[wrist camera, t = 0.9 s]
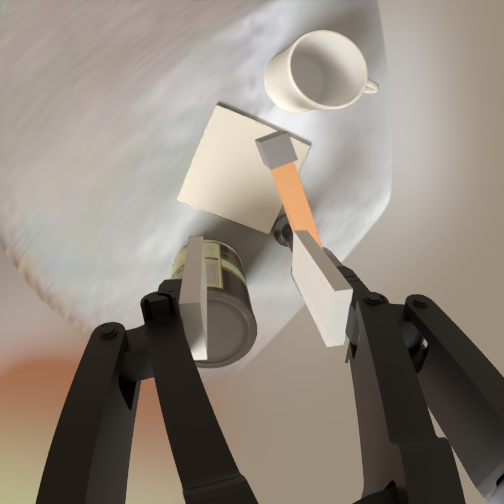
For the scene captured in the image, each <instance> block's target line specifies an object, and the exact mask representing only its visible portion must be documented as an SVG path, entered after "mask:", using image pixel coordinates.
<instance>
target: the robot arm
mask: <svg viewBox="0 0 504 504" xmlns="http://www.w3.org/2000/svg"><path fill="white" fill-rule="evenodd" d="M292 276H293V278H294V280H295V282H296V284H297V286H298V288H299V290H300V292H301V294H302V296H303V298H304V300H305V303H306V305H307V307H308V308H309V311H310V313H311V315H312V317H313V319H314V321H315V323H316V325H317V327H318V329H319V331H320V334H321V336H322V338H323V340H324V342H325V344H326V346H327V347H331V346H336V345H343V344H344V340H345V335H347V336H348V338H349V340H350V341H349V346H348V351H347V355H346V361H345V363H348V359H350V366H351V372H352V379H353V385H354V393H355V401H356V408H357V416H358V425H359V434H360V443H361V453H362V464H363V476H364V489H363V493H362V498H361V499H360V500H358V501H357V502H355V503H353V504H466V503H465V499H464V495H463V490H462V486H461V482H460V478H459V473H458V470H457V466H456V463H455V459H454V455H453V452H452V448H451V446H452V447H453V449H454V451H455V453H456V454H457V456H458V458H459V459H460V461H461V463H462V465H463V467H464V468H465V470H466V472H467V474H468V476H469V477H470V479H471V481H472V482H473V484H474V485H475V487H476V488H477V489H478V491H479V492H480V493H481V494H482V496H483V497H484V498H485V499H486V500H487V501H488V502H489V504H504V377H503V376H502V375H501V374H500V373H499V371H498V370H497V369H496V368H495V367H494V366H493V365H492V363H491V362H490V361H489V360H488V359H487V358H486V357H485V356H484V354H483V353H482V352H481V351H480V350H479V349H478V348H477V347H476V346H475V344H474V343H473V342H472V341H471V340H470V339H469V338H468V337H467V336H466V335H465V334H464V333H463V332H462V330H460V329H459V327H458V326H457V325H456V324H455V323H454V322H453V321H452V320H451V319H450V318H449V317H448V316H447V315H446V314H445V313H444V312H443V311H442V310H441V309H440V308H439V307H438V306H437V305H436V304H435V303H434V302H433V301H432V300H431V299H430V298H428V297H426V296H424V295H419V294H415V295H410V296H408V297H407V298H406V301H405V305H401V304H390V303H389V301H388V299H387V298H386V297H385V296H383V295H382V294H379V293H376V292H370V291H369V290H368V288H367V287H366V286H365V285H364V284H363V283H362V281H360V279H359V278H358V277H357V275H356V274H355V273H354V272H353V270H351V269H349V268H347V267H346V266H337V267H336V266H335V265H334V264H333V262H332V261H331V260H330V259H329V257H328V256H327V255H326V253H325V252H324V251H323V250H322V248H321V247H320V246H319V245H318V243H317V242H316V241H315V240H314V238H313V237H312V236H311V235H310V233H309V232H308V231H307V230H296V231H293V259H292ZM140 305H141V309H142V313H143V318H144V322H145V324H144V325H142V326H140V327H138V328H134V329H130V330H125V328H124V326H123V325H122V324H120V323H116V322H109V323H104V324H102V325H100V326H98V327H97V328H95V330H94V331H93V332H92V334H91V337H90V339H89V342H88V344H87V346H86V349H85V351H84V354H83V356H82V358H81V361H80V363H79V366H78V369H77V371H76V374H75V376H74V379H73V382H72V384H71V387H70V390H69V392H68V395H67V398H66V401H65V404H64V407H63V409H62V413H61V415H60V418H59V421H58V424H57V427H56V431H55V434H54V437H53V440H52V443H51V447H50V450H49V453H48V457H47V460H46V464H45V467H44V471H43V475H42V479H41V483H40V487H39V491H38V495H37V500H36V504H125V500H126V489H127V478H128V469H129V460H130V452H131V444H132V437H133V430H134V423H135V416H136V409H137V402H138V397H139V391H140V385H141V380H144V379H148V378H152V377H154V378H155V383H156V388H157V392H158V397H159V402H160V406H161V410H162V414H163V418H164V423H165V427H166V431H167V435H168V439H169V442H170V446H171V450H172V453H173V457H174V460H175V464H176V467H177V471H178V474H179V477H180V481H181V484H182V488H183V495H184V499H185V502H186V504H258V502H257V500H256V498H255V496H254V494H253V492H252V490H251V488H250V486H249V484H248V482H247V480H246V479H245V477H244V476H243V475H241V473H240V472H239V470H238V468H237V466H236V463H235V461H234V459H233V457H232V454H231V452H230V450H229V448H228V445H227V443H226V441H225V438H224V436H223V434H222V431H221V429H220V426H219V424H218V421H217V419H216V416H215V414H214V412H213V409H212V406H211V404H210V402H209V399H208V396H207V394H206V391H205V388H204V386H203V383H202V380H201V378H200V375H199V372H198V370H197V367H196V364H195V361H194V360H207V276H206V265H205V253H204V241H203V236H196V237H189V240H188V246H187V252H186V259H185V265H184V271H183V278H182V279H168V280H164V281H163V282H162V283H161V284H160V285H159V288H158V291H157V292H153V293H150V294H148V295H146V296H144V297H143V298H142V299H141V303H140ZM424 339H426V341H427V343H428V345H427V347H425V346H424V345H423V341H424ZM427 406H428V407H427ZM428 408H429V409H430V411H431V413H432V414H433V416H434V418H435V419H436V421H437V422H438V424H439V426H440V427H441V429H442V431H443V432H444V434H445V436H446V437H447V439H448V440H447V439H446V438H445V437H443V438H438V437H437V436H436V434H435V431H434V427H433V424H432V420H431V417H430V414H429V411H428ZM449 442H450V443H449ZM450 444H451V445H450Z"/></svg>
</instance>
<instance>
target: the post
mask: <svg viewBox="0 0 504 504" xmlns="http://www.w3.org/2000/svg"><path fill="white" fill-rule="evenodd" d="M273 234H274V237H275V239H276V240H277V242H278V243H279V244H281V245H283V246H286V247H289V248H290V250H291V252H292V253H293V232H292V229H291V226H290V223H289V220H288V218H287V215H284V216H282V217H280V218H279V219H278V220H277V221H276V222H275V224H274V227H273Z"/></svg>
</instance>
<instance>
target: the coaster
mask: <svg viewBox="0 0 504 504" xmlns="http://www.w3.org/2000/svg"><path fill="white" fill-rule="evenodd" d="M274 132H277V130H275V129H273V128H270V127H268V126H266V125H264V124H261V123H259V122H257V121H254V120H252V119H250V118H247V117H245V116H243V115H240V114H238V113H235V112H233V111H231V110H228V109H226V108H223V107H221V106H218V105H216V107H215V109H214V111H213V113H212V115H211V118H210V120H209V122H208V125H207V127H206V129H205V132H204V134H203V136H202V139H201V141H200V143H199V146H198V148H197V150H196V153H195V155H194V158H193V160H192V163H191V165H190V168H189V170H188V173H187V175H186V178H185V180H184V183H183V186H182V188H181V191H180V193H179V196H178V199H177V200H178V201H181V202H184V203H186V204H189V205H192V206H195V207H197V208H200V209H203V210H205V211H208V212H211V213H213V214H216V215H219V216H221V217H224V218H227V219H229V220H232V221H235V222H237V223H240V224H243V225H245V226H248V227H250V228H253V229H256V230H258V231H261V232H264V233H266V234H269V233H270V231H271V229H272V227H273V225H274V222H275V220H276V218H277V216H278V214H279V212H280V210H281V208H282V206H283V204H282V201H281V198H280V196H279V193H278V190H277V188H276V185H275V182H274V180H273V177H272V174H271V172H270V169H269V168H268V167H267V166H265V165H264V163H263V161H262V158H261V156H260V153H259V150H258V148H257V145H256V143H255V139H258V138H260V137H263V136H266V135H269V134H271V133H274ZM290 139H291V142H292V144H293V147H294V150H295V153H296V155H297V158H298V160H296V161H294V163H295V166H296V168H297V171H298V172H299V170H300V168H301V166H302V164H303V161H304V159H305V157H306V155H307V153H308V151H309V149H310V147H311V146H309V145H307V144H305V143H302V142H300V141H298V140H296V139H294V138H292V137H290Z"/></svg>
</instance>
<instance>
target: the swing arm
mask: <svg viewBox="0 0 504 504" xmlns="http://www.w3.org/2000/svg"><path fill="white" fill-rule="evenodd" d="M255 143H256V145H257V148H258V150H259V153H260V156H261V158H262V161H263V163H264V165H265V166H267V167H268V168H269V169H270V172H271V174H272V177H273V180H274V182H275V185H276V188H277V190H278V193H279V196H280V198H281V201H282V204H283V207H284V209H285V212H286V215H287V218H288V220H289V223H290V226H291V229H292V232H293V231H296V230H307V231H308V232H309V233H310V235H311V236H312V237H313V238H314V240H315V241H316V242H317V243H318V245H319V246H320V247H321V248H322V250H323V251H324V252H325V253H326V255H327V256H328V257H329V259H330V260H331V261H332V262H333V264H334V265H335V266H336V267H337V266H343V265H342V264H341V263H340V261H339V260H338V259H337V258H336V257H335V255H334V254H333V253H332V252H331V251H330V250H328V249H327V248H324V247H322V245H321V241H320V238H319V235H318V232H317V228H316V225H315V222H314V219H313V216H312V213H311V210H310V207H309V204H308V201H307V198H306V195H305V192H304V189H303V186H302V183H301V180H300V177H299V174H298V171H297V168H296V166H295V163H294V161H296V160H298V158H297V155H296V153H295V150H294V147H293V144H292V142H291V139H290V136H289V133H288V132H283V131H277V132H274V133H271V134H269V135H266V136H263V137H260V138H258V139H255ZM291 275H292V268H291ZM292 278H293V276H292ZM293 280H294V278H293ZM294 282H295V280H294ZM295 284H296V282H295ZM296 287H297V289H298V291H299V293H300V295H301V296H302V294H301V292H300V290H299V288H298V286H297V284H296ZM302 298H303V296H302ZM303 299H304V298H303Z"/></svg>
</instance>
